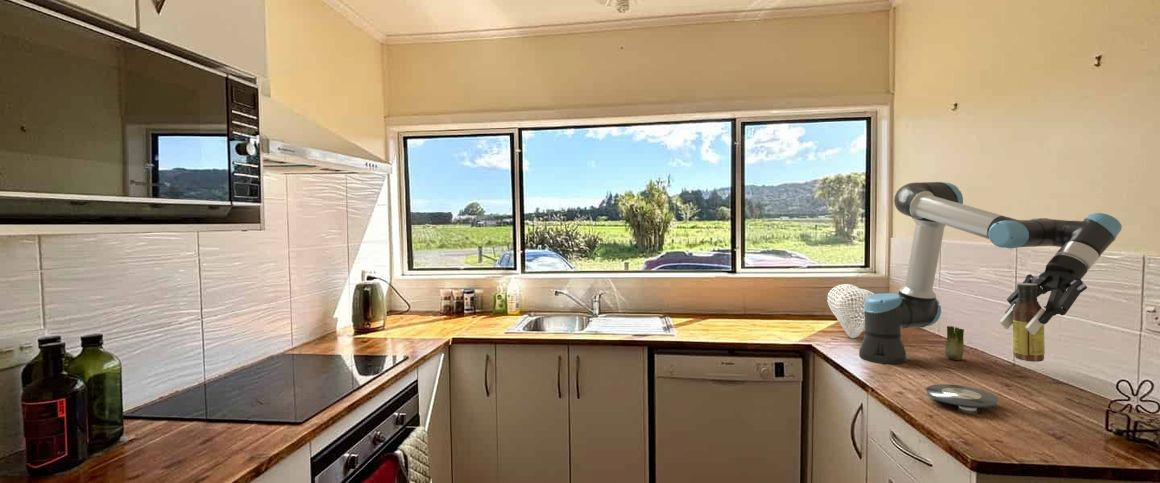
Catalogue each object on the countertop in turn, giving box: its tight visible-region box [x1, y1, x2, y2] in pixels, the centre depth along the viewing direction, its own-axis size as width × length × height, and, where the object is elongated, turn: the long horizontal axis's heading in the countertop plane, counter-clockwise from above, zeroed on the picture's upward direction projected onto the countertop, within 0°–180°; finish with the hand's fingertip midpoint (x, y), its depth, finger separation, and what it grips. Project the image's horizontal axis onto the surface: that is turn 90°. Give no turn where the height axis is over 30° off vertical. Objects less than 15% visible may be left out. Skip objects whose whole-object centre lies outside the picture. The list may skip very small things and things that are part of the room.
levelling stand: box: [926, 383, 999, 415], centre depth 144 cm, size 16×16×3 cm
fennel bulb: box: [944, 325, 965, 361], centre depth 187 cm, size 6×5×12 cm
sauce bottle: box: [1012, 282, 1046, 363], centre depth 135 cm, size 6×6×20 cm
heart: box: [826, 283, 875, 339], centre depth 221 cm, size 28×16×22 cm, turn 172°
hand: (1016, 328), depth 134 cm, fingers closed on sauce bottle, 6 cm apart
